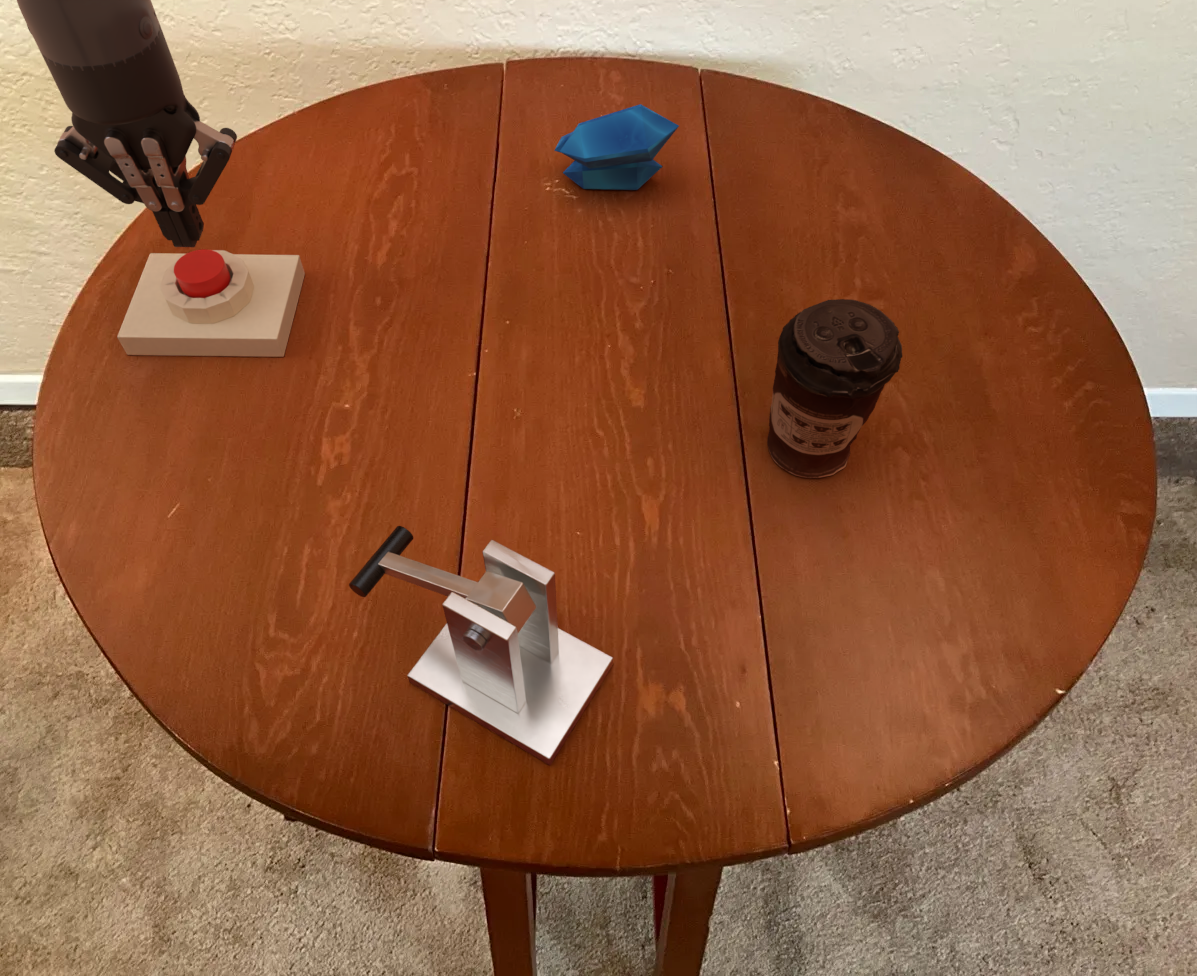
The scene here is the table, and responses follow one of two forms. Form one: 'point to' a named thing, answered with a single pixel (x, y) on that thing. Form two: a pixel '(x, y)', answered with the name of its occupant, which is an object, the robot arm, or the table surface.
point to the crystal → (616, 149)
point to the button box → (215, 309)
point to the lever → (445, 581)
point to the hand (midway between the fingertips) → (187, 240)
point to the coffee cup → (828, 383)
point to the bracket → (513, 663)
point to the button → (202, 273)
